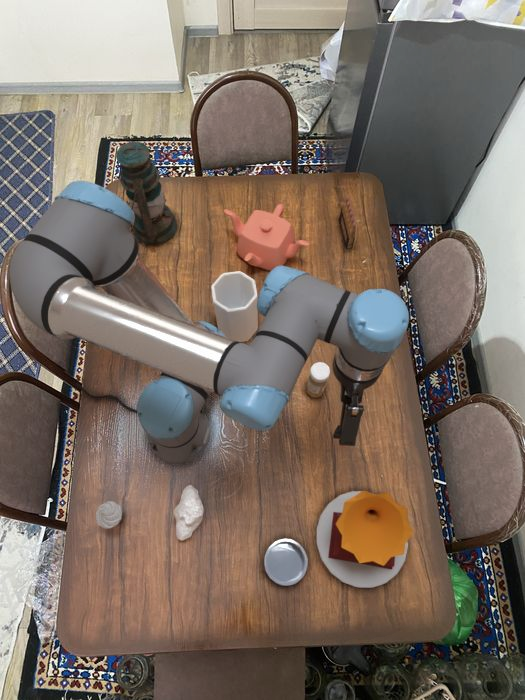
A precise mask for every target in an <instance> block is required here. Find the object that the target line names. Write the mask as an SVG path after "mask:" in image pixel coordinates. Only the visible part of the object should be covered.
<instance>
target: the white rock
mask: <svg viewBox="0 0 525 700" xmlns="http://www.w3.org/2000/svg"><path fill="white" fill-rule="evenodd" d="M179 500H180V501H179V502H178V504H177V505H176V506H175V508H174V510H173V516H174V518H175V523H176V525H175V537H176V538H177V540H179V541H185V540H187V539H189V538H191V537H192V536H193V532H195V531H196V530H197V529H198V528H199V526H200V524H202V522H203V518H204V517H203V515H204V511H205V508H204V504H203V503H202V499H200V495H199V490H198V489H197V488H195V486H193V485H192V484H189V485H186V486H185V487H184V488H183V490H182V493H181V495H180V499H179Z"/></svg>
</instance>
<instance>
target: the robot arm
mask: <svg viewBox="0 0 525 700" xmlns="http://www.w3.org/2000/svg"><path fill="white" fill-rule="evenodd" d="M134 213H135V212H134V211H133V210H132V209H131V207H130V206H128V203H126V201H125V200H124V201H123V198H121V197H120V196H118V195H117V194H116V193H114V192H112V191H111V190H109V189H107V188H105V187H104V186H101V185H99V184H97V183H94V182H92V181H91V182H90V181H86V180H75V181H71V182H70V183H68V184H67V185H66V186H65V188H64V189H62V191H61V192H60V193H59V194H58V195H55V196H54V200H53V202H52V203H51V204H50V205H49V206H48V208H47V209H46V210H45V212H44V213H43V214H42V215H41V216H40V218H39V219H38V220H37V222H36V223H35V224H34V225H33V227H32V228H31V229H30V231H28V233H27V234H26V236H25V237H24V238H23V240H21V242H19V244H18V245H17V246H16V247H15V249H14V251H13V253H12V256H11V259H10V263H9V268H8V269H9V271H8V276H9V277H8V278H9V283H10V289H11V292H12V294H13V297H14V299H15V302H16V303H17V305H18V307H19V309H20V310H21V312H22V313H23V314H24V315H25V317H26V318H27V319H28V320H29V321H30V322H31V323H32V324H34V326H36V328H39V330H42V331H43V332H45V333H47V334H48V335H51V336H53V337H55V338H58V339H60V340H65V341H68V340H70V341H71V340H73V339H76V338H77V339H78V340H82V341H84V342H86V343H89V344H92V345H94V346H96V347H99V348H102V349H103V350H106V351H109V352H111V353H114V354H116V355H118V356H120V357H123V358H126V359H129V360H131V361H134V362H136V363H139V364H141V365H143V366H145V367H149V368H151V369H154V370H156V371H157V372H161V373H160V374H159V376H158V378H157V379H156V380H154V381H151V382H150V383H149V384H148V385H146V386H145V387H144V388H143V390H142V391H141V393H140V395H139V396H138V399H137V403H136V409H135V408H132V407H130V406H128V405H127V404H125V403H124V402H123V401H122V400H121V399H120V398H118V397H117V396H116V395H112V394H103V395H102V394H101V395H94V394H91V393H90V392H88V390H86V389H85V388H84V386H82V385H81V384H80V383H79V382H75V383H74V386H75V387H78V388H79V389H80V390H81V391H82V392H83V393H84V394H85V395H86V396H87V397H89V398H91V399H95V400H101V399H112V400H115V401H116V402H117V403H118V404H119V405H120V406H121V407H123V408H124V409H126V410H127V411H129V412H132V413H134V414H137V417H138V421H139V423H140V425H141V428H142V429H143V431H144V432H146V437H147V438H146V440H147V442H148V446H149V448H150V449H151V451H152V452H153V453H154V454H155V455H156V456H157V457H158V458H159V459H160V460H163V461H164V462H166V463H169V464H185V463H189V462H190V461H192V460H194V459H196V458H198V457H199V456H200V455H201V454H202V453H203V452H204V451H205V449H206V447H207V446H208V443H209V441H210V437H211V424H210V420H209V418H208V416H207V414H206V413H205V411H204V410H203V407H204V406H205V404H206V402H207V400H208V398H209V397H210V394H211V393H212V394H215V395H217V396H220V397H221V398H220V401H219V408H220V410H221V412H222V413H223V414H224V415H225V416H227V418H229V419H231V420H232V421H234V422H236V423H238V424H240V425H242V426H244V427H246V428H248V429H251V430H254V431H257V432H259V431H260V432H266V431H269V430H271V429H272V428H273V427H275V424H276V423H277V422H278V420H279V418H280V417H281V414H282V413H283V412H284V410H285V407H286V406H287V405H288V403H289V401H290V397H291V395H292V393H293V390H294V388H295V387H296V384H297V382H298V379H299V377H300V375H301V373H302V371H303V368H304V367H305V365H306V363H307V361H308V359H309V357H310V355H311V353H312V351H313V349H314V347H315V345H316V343H317V340H318V341H322V342H324V343H327V344H329V345H333V346H335V347H336V349H335V353H334V356H333V359H332V364H331V365H332V366H331V367H332V372H333V375H334V377H335V378H336V380H337V381H338V382H339V384H340V395H339V397H340V402H341V403H342V404H341V412H340V420H339V424H338V425H337V426H336V428H335V429H334V431H333V433H332V439H333V440H334V439H335V440H338V445H339V446H348V447H355V445H356V443H357V438H358V433H359V428H360V424H361V419H362V417H363V414H364V411H365V408H364V405H362V404H361V403H362V402H363V396H364V391H365V390H366V389H368V388H370V387H373V385H375V384H376V383H377V381H378V379H379V378H380V377H381V375H382V372H383V371H384V369H385V368H386V365H387V364H388V362H389V361H390V360H391V358H392V357H393V356H394V355H395V351H396V350H397V349H398V348H399V346H400V345H401V342H402V340H403V338H404V336H405V334H406V331H407V329H408V327H409V323H410V314H409V310H408V309H409V308H408V307H407V305H406V303H405V301H404V300H403V299H402V298H401V297H400V296H399V295H398V294H396V293H395V292H393V291H391V290H389V289H386V288H370V289H369V288H368V289H366V290H364V291H362V292H361V293H357V292H354V291H350V290H347V289H343V288H341V287H338V286H337V285H335V284H332V283H330V282H328V281H325V280H323V279H321V278H318V277H316V276H314V275H312V274H310V273H308V272H306V271H304V270H300V269H298V268H297V269H296V268H293V267H289V266H286V265H283V266H282V265H281V266H277V267H275V268H274V269H272V270H271V271H269V273H268V274H267V276H266V277H265V280H264V282H263V284H262V287H261V289H260V291H259V293H258V296H257V310H258V313H259V314H260V315H261V316H263V317H264V318H263V320H262V322H261V324H260V326H258V330H257V331H256V332H255V334H254V337H253V339H252V341H251V342H250V343H249V344H247V343H244V342H239V341H236V340H233V339H230V338H228V337H226V336H225V335H224V334H223V333H222V332H221V331H218V327H216V326H215V325H213V324H211V323H210V322H207V321H204V320H194V319H190V317H189V316H188V315H187V314H186V312H185V310H183V308H181V306H180V305H179V304H178V303H177V302H176V300H175V299H174V297H173V296H172V295H171V294H170V293H169V291H168V290H167V289H166V287H164V286H163V284H162V283H161V282H160V280H159V279H158V278H157V277H156V275H155V274H154V273H153V272H152V270H151V269H150V268H149V267H148V266H147V264H146V263H145V262H144V261H143V259H142V258H141V257H140V249H141V248H140V244H139V243H140V242H139V240H138V239H137V237H136V236H135V235H134V233H132V231H131V228H133V225H134V221H135V215H134ZM100 287H101V289H103V290H104V291H101V290H99V289H96V288H100ZM360 404H361V405H360Z"/></svg>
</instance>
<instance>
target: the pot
mask: <svg viewBox="0 0 525 700" xmlns="http://www.w3.org/2000/svg"><path fill="white" fill-rule="evenodd" d="M284 209H285V206H284V204H282V203H278V204H277V205H276V206H275V208H274V210H273V212H272V213H271V212H267V211H265V210H261V209H255V210H254V211H252V213H251V214H250V216H249V217H248V219H247V221H246V222H245V223H244V222H243V221H241V220H240V218H239V216H238V215H237V214H236V213H235V212H234V211H232V210H231V209H228V208H225V209H223V212H224V213H225V214H226V215H227V216H228V217H229V219H230V220H231V223H232V228H233V232H234V234H235V235H236V236H237V238H238V239H237V244H236V253H237V254H238V257H240V258H242V260H243V261H245V262H247V263H248V264H249V265H251V266H253V267H257V268H261V269H264V270H266V271H269V272H271V270H272V269H274V268H275V267H277V266H281V265H282V266H285V263H286V262H287V260H288V259H291V258H293V257H295V256H297V254H298V253H299V251H300V249H301V247H304V246H306V247H307V246H309V245H310V242H309V241H307V240H304V239H298V240H296V236H295V235H296V234H295V231H294V228H293V226H292V223H290V221H288V220H287V219H284V218H283V215H284Z"/></svg>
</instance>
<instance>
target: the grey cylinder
mask: <svg viewBox="0 0 525 700" xmlns="http://www.w3.org/2000/svg"><path fill="white" fill-rule="evenodd" d="M263 558H264V559H263V566H264V570H265V573H266V575H267V576H268V578H269V579H271V580H272V581H273V582H274V583H275V584H276V585H277V584H278V585H280V586H286V587H287V586H292V585H296V584H297V583H298V582H300V581H301V580H302V579H303V578H304V576H305V575H306V573H307V570H308V565H309V564H308V561H309V559H308V556H307V553H306V550H305V549H304V548H303V546H302V545H301V544H300V543H299V542H298V541H296V540H294V539H291V538H279V539H277V540H276V541H274V542H272V543H271V544H270V545H269V546H268V548H267V549H266V552H265V555H264V557H263Z"/></svg>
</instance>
